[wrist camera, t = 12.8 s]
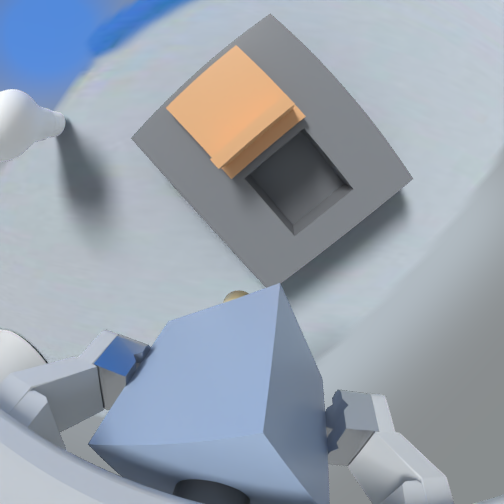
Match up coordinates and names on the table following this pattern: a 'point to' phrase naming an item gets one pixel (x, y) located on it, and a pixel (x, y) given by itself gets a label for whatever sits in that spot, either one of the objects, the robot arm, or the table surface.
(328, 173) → the socket block
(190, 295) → the table surface
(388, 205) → the table surface
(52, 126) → the lightbulb
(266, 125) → the panel
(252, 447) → the plug
